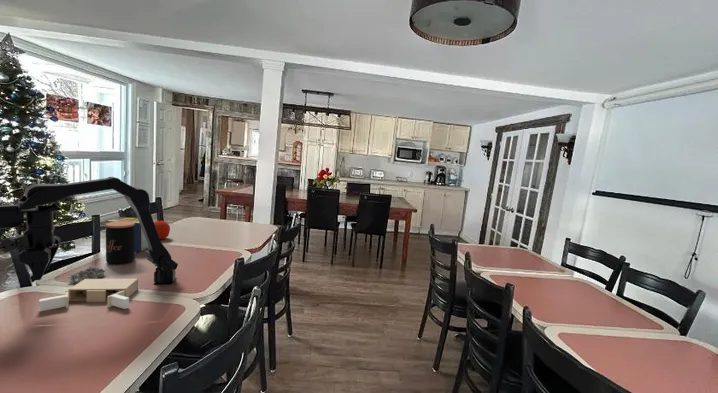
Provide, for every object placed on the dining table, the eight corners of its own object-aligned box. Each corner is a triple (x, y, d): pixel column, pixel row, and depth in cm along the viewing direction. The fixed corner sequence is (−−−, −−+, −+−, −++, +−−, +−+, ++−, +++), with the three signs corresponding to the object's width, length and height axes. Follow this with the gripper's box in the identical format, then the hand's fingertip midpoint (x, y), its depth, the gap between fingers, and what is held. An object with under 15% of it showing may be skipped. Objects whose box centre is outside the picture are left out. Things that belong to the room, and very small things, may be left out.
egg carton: (83, 286, 118) (83, 276, 118) (65, 284, 119) (65, 274, 118) (108, 276, 129) (108, 266, 128) (91, 274, 129) (91, 264, 129)
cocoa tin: (97, 292, 113) (97, 283, 113) (91, 296, 110) (91, 288, 109) (85, 292, 113) (85, 283, 112) (79, 297, 109) (79, 288, 109)
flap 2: (125, 300, 110) (125, 289, 109) (139, 304, 108) (139, 293, 107) (107, 307, 104) (107, 296, 104) (122, 311, 102) (122, 300, 102)
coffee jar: (100, 262, 142) (99, 223, 140) (125, 256, 152) (125, 220, 150) (115, 267, 138) (115, 227, 136) (140, 260, 148) (140, 223, 146)
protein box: (120, 245, 168) (120, 216, 166) (150, 246, 169) (151, 218, 167) (106, 251, 157) (106, 220, 156) (139, 252, 159) (139, 222, 157)
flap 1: (68, 308, 102) (68, 296, 101) (39, 313, 97) (39, 302, 97) (68, 301, 106) (68, 290, 105) (40, 306, 101) (39, 295, 101)
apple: (145, 240, 180) (145, 220, 179) (158, 236, 190) (159, 217, 189) (160, 242, 178) (160, 222, 177) (173, 238, 188) (174, 219, 187)
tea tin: (129, 291, 116) (129, 283, 115) (124, 296, 112) (124, 287, 112) (118, 292, 115) (117, 283, 114) (112, 296, 111) (112, 287, 111)
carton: (137, 289, 119) (137, 278, 118) (124, 302, 109) (124, 289, 108) (85, 290, 115) (84, 278, 114) (66, 303, 105) (66, 290, 105)
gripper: (12, 220, 99) (14, 268, 101) (-11, 234, 84) (-8, 290, 86) (60, 219, 105) (61, 264, 107) (47, 232, 90) (48, 284, 92)
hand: (42, 274), depth 98 cm, fingers open, 9 cm apart
